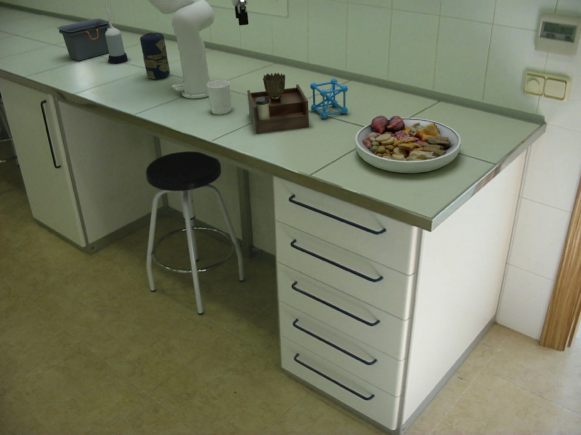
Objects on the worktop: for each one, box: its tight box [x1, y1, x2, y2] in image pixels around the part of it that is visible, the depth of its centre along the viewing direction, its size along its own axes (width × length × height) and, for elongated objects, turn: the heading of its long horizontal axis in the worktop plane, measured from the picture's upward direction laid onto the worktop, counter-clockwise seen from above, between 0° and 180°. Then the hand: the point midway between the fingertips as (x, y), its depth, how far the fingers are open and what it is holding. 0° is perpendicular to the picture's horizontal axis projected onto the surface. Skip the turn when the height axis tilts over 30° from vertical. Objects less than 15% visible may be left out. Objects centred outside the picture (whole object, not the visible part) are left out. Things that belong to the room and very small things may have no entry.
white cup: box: [207, 79, 232, 115], centre depth 207 cm, size 8×8×10 cm
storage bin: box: [57, 18, 110, 62], centre depth 272 cm, size 21×16×14 cm
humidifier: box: [104, 2, 129, 65], centre depth 260 cm, size 8×8×25 cm
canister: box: [139, 32, 171, 80], centre depth 241 cm, size 10×10×18 cm
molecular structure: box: [309, 78, 349, 120], centre depth 201 cm, size 10×10×10 cm
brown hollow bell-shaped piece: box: [262, 72, 286, 101], centre depth 196 cm, size 8×7×8 cm
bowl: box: [354, 115, 462, 174], centre depth 172 cm, size 30×30×8 cm
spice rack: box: [246, 83, 310, 135], centre depth 197 cm, size 18×16×9 cm
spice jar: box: [255, 97, 270, 121], centre depth 191 cm, size 4×4×7 cm
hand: (242, 21), depth 202 cm, fingers open, 9 cm apart
